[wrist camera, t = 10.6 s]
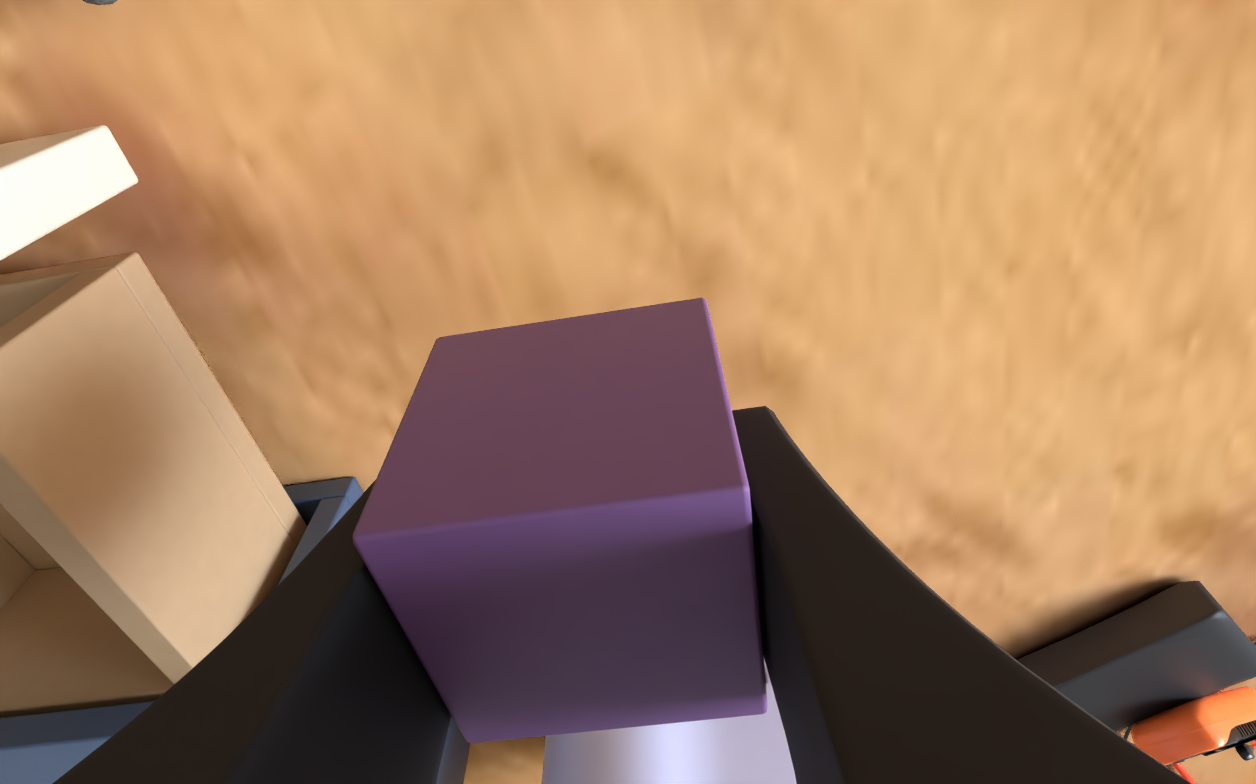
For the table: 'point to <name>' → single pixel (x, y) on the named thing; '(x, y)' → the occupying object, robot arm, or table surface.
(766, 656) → the robot arm
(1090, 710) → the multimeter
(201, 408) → the drawer
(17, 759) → the cabinet
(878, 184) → the table surface
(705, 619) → the block
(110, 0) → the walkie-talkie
